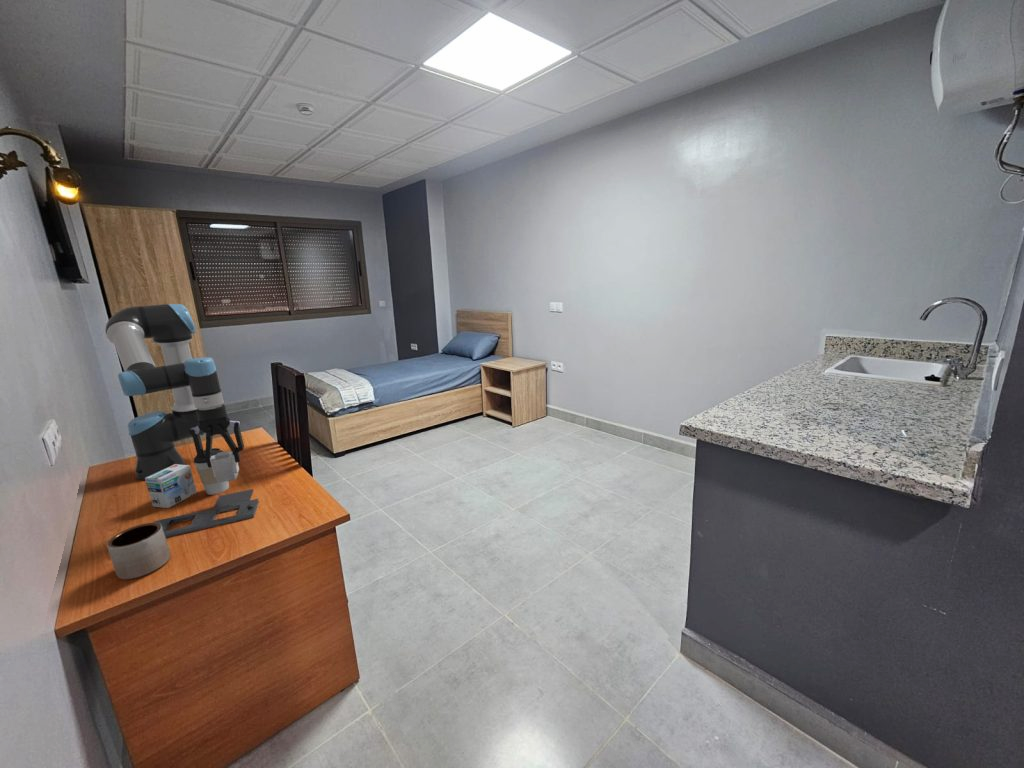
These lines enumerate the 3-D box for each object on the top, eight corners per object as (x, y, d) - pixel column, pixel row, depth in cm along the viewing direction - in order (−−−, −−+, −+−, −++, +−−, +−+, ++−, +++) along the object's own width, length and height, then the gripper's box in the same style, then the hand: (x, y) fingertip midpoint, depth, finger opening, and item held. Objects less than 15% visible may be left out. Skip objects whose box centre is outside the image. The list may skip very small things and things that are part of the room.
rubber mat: (219, 497, 141) (219, 495, 141) (253, 490, 144) (252, 488, 144) (212, 512, 132) (212, 510, 132) (248, 504, 136) (248, 502, 135)
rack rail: (154, 524, 126) (153, 519, 126) (258, 501, 137) (257, 497, 136) (141, 543, 117) (139, 537, 117) (253, 517, 128) (252, 512, 127)
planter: (107, 575, 105) (96, 543, 102) (155, 549, 114) (146, 519, 112) (133, 585, 101) (121, 552, 98) (181, 557, 111) (171, 526, 108)
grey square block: (221, 476, 137) (214, 452, 135) (238, 473, 139) (232, 449, 137) (217, 483, 133) (211, 458, 130) (235, 479, 134) (229, 455, 132)
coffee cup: (200, 499, 140) (189, 459, 136) (204, 487, 148) (194, 449, 144) (231, 491, 144) (221, 452, 140) (234, 481, 152) (225, 443, 148)
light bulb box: (168, 508, 135) (159, 479, 132) (152, 507, 136) (143, 478, 134) (198, 492, 145) (190, 464, 142) (182, 491, 147) (175, 463, 144)
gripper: (171, 414, 123) (190, 484, 129) (241, 405, 129) (256, 471, 135) (179, 408, 129) (197, 474, 135) (245, 399, 136) (260, 462, 142)
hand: (227, 473), depth 135 cm, fingers closed on grey square block, 5 cm apart
